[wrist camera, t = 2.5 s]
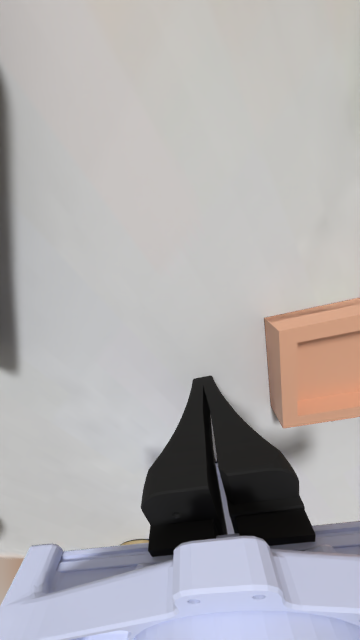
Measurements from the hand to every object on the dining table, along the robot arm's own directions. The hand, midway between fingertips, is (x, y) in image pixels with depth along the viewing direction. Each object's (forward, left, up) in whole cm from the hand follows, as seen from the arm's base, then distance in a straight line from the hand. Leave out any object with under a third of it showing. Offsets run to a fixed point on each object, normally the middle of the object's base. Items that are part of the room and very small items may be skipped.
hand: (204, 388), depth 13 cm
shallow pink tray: (0, -11, -1) cm, 11 cm away
